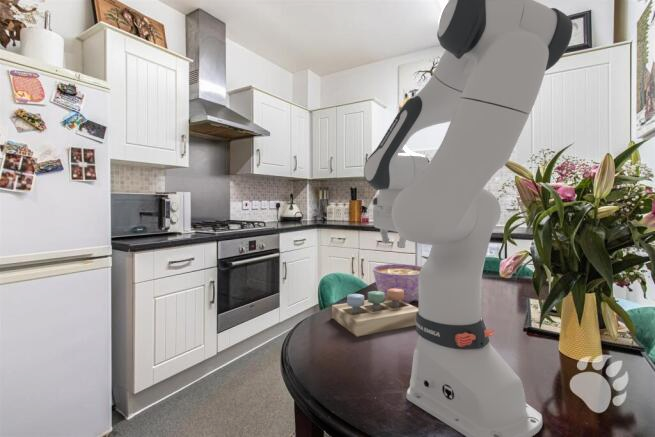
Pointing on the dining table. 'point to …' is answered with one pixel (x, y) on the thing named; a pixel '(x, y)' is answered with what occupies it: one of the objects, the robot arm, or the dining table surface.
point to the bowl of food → (398, 279)
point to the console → (375, 317)
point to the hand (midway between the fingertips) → (393, 245)
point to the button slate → (355, 302)
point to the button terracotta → (395, 296)
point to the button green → (376, 299)
